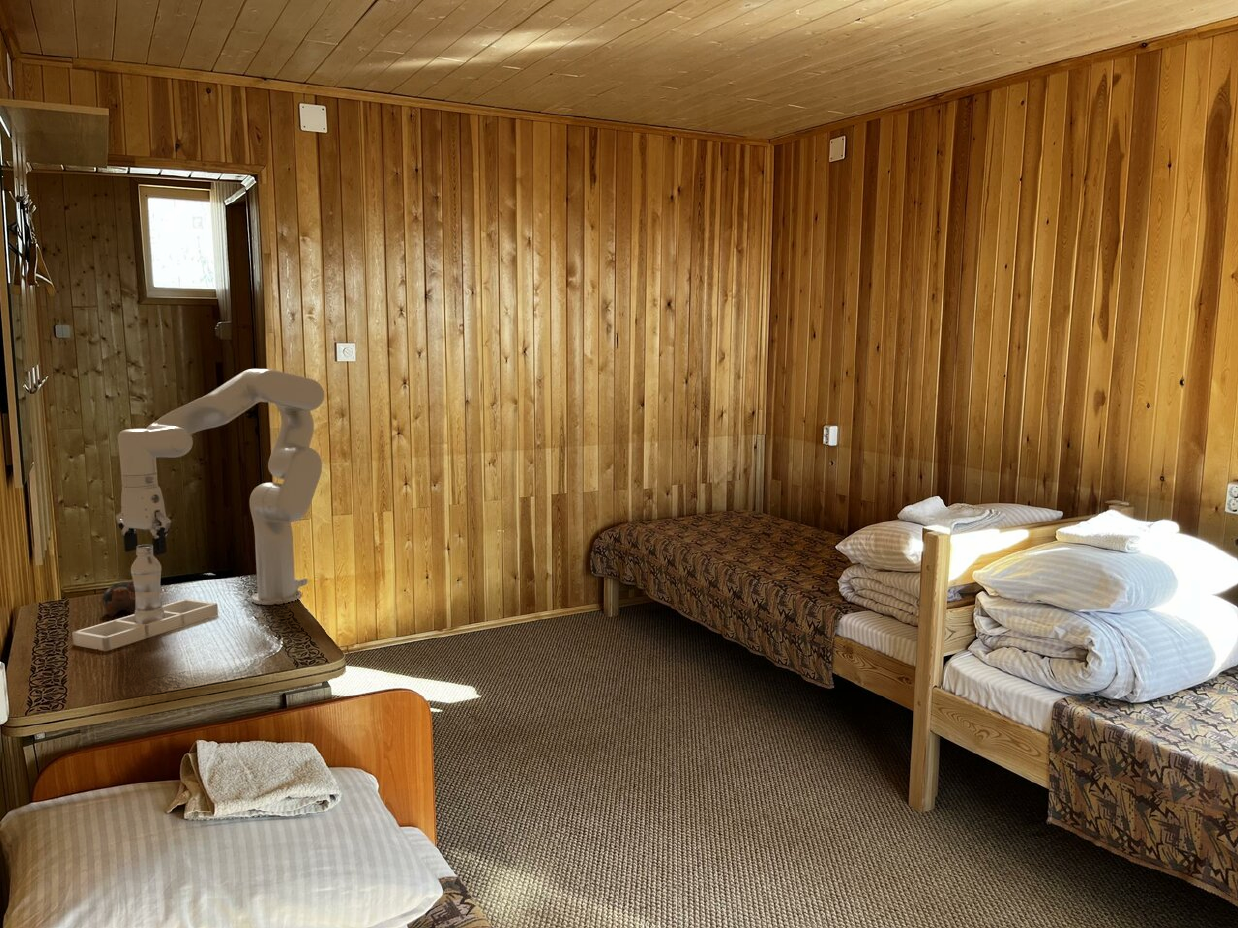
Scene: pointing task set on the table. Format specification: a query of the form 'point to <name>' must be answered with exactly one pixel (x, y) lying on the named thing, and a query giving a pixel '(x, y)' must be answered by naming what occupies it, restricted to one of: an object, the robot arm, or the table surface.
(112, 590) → the decorative turtle
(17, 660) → the table surface
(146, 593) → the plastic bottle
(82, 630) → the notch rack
